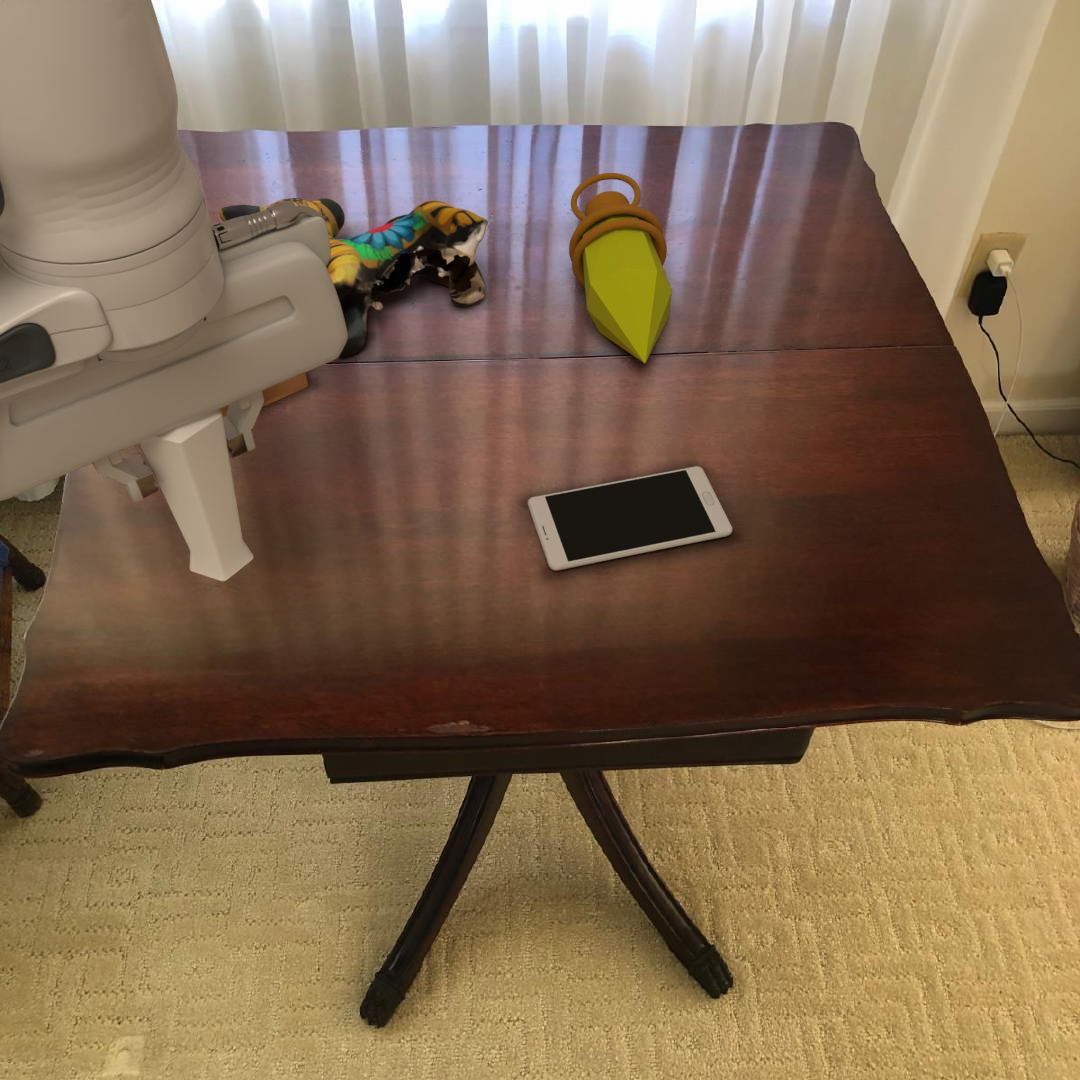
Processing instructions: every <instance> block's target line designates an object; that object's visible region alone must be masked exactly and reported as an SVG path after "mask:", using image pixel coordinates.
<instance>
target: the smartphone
mask: <svg viewBox="0 0 1080 1080" xmlns="http://www.w3.org/2000/svg"><path fill="white" fill-rule="evenodd" d="M527 506H528V510H529V513H530V515H531V518H532V522H533V524H534V528H535V530H536V534H537V536H538V538H539V542H540V544H541V549H542V550H543V553H544V556H545V559H546V562H547V565H548V567H549V568H550V569H551V570H552V571H557V572H558V571H562V570H568V569H573V568H578V567H584V566H588V565H592V564H596V563H602V562H603V563H604V562H607V561H612V560H617V559H623V558H627V557H632V556H637V555H642V554H648V553H651V552H657V551H661V550H666V549H672V548H676V547H681V546H685V545H686V546H687V545H692V544H697V543H700V542H707V541H711V540H715V539H721V538H726V537H729V536H730V535H731V534H732V533H733V526H732V524H731V522H730V520H729V518H728V516H727V514H726V513H725V510H724V507H723V506H722V504H721V502H720V500H719V498H718V496H717V494H716V492H715V491H714V488H713V486H712V484H711V482H710V480H709V478H708V476H707V474H706V472H705V470H704V469H703V468H702V467H701V466H698V465H696V466H690V467H684V468H679V469H675V470H669V471H664V472H659V473H658V472H657V473H653V474H647V475H642V476H637V477H631V478H627V479H620V480H616V481H610V482H606V483H600V484H595V485H589V486H584V487H578V488H574V489H569V490H568V489H567V490H563V491H558V492H552V493H547V494H542V495H537V496H531V497H530V498H528V500H527Z"/></svg>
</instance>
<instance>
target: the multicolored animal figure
mask: <svg viewBox="0 0 1080 1080" xmlns="http://www.w3.org/2000/svg"><path fill="white" fill-rule="evenodd" d="M288 201H292V202H293V203H294V204H295V205H296V206H308V207H311V208H313V209H315V210H317V211H318V212H319V213H320V214H321V215H322V216H323V218H324V220H325V222H326V225H327V228H328V235H329V241H330V248H331V255H330V260H329V263H328V265H327V267H326V268H327V270H328V272H329V274H330V276H331V279H332V281H333V284H334V287H335V289H336V292H337V295H338V298H339V301H340V304H341V308H342V311H343V315H344V319H345V324H346V328H347V334H348V339H347V342H346V344H345V346H344V348H343V350H342V352H341V354H340V355H339V357H346V356H347V357H348V356H352V355H354V354H357V353H358V352H360V351H361V350H362V349H363V348H364V346H366V345H365V344H366V342H367V337H368V313H369V309H371V308H373V309H374V310H375V311H382V309H383V308H384V305H383V304H382V302H381V301H374V299H378V298H382V297H384V296H387V295H390V294H391V293H393V292H402V291H403V290H404V289H405V287H406V285H408V286H409V285H410V284H411V280H412V279H413V277H415V276H423V277H425V278H426V279H427V280H429V281H430V282H434V283H436V284H441V285H443V286H445V287H448V289H449V290H448V291H449V294H448V295H449V297H450V301H451V303H452V304H453V305H456V306H460V307H467V306H470V305H473V304H474V305H475V304H476V303H478V302H479V301H481V300H483V299H484V298H485V297H486V293H487V292H486V291H487V286H486V282H485V279H484V277H483V276H484V275H483V274H482V272H481V270H480V268H479V266H478V264H477V263H476V261H475V258H476V257H475V256H476V253H477V249H478V246H479V245H480V243H481V242H482V241H483V239H484V237H485V235H486V230H487V227H488V223H489V222H488V219H486V218H484V217H482V216H480V215H478V214H476V213H475V212H473V211H471V210H467V209H465V208H459V207H454V206H453V205H450V204H448V203H446V202H444V201H441V200H435V199H434V200H433V199H432V200H427V201H424V202H421V203H419V204H418V205H416V206H415V207H414V209H412V210H411V211H410V212H409V213H406V214H403V215H398V216H395V217H393V218H391V219H390V220H388V221H387V222H386V223H384V224H383V225H380V226H378V227H376V228H373V229H370V230H367V231H366V232H363V233H360V234H357V235H354V236H349V237H346V238H336V237H337V236H338V235H339V233H340V232H341V231H342V229H343V227H344V225H345V221H346V215H345V212H344V210H343V208H342V206H341V205H340V204H339V203H338V202H336V201H335V200H333V199H331V198H325V197H324V198H319V199H316V200H312V201H310V200H308V199H305V198H300V197H289V198H288V197H287V198H281V199H279V200H276V201H274V202H273V203H271V204H269V205H265V206H259V205H250V204H235V205H228V206H224V207H222V208H220V210H219V212H218V214H219V218H220V220H221V221H222V222H225V221H228V220H231V219H233V218H237V217H241V216H246V215H250V214H255V213H258V212H261V211H263V210H266V208H267V207H269V206H271V205H274V204H277V203H281V202H288ZM299 215H302V214H299Z"/></svg>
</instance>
